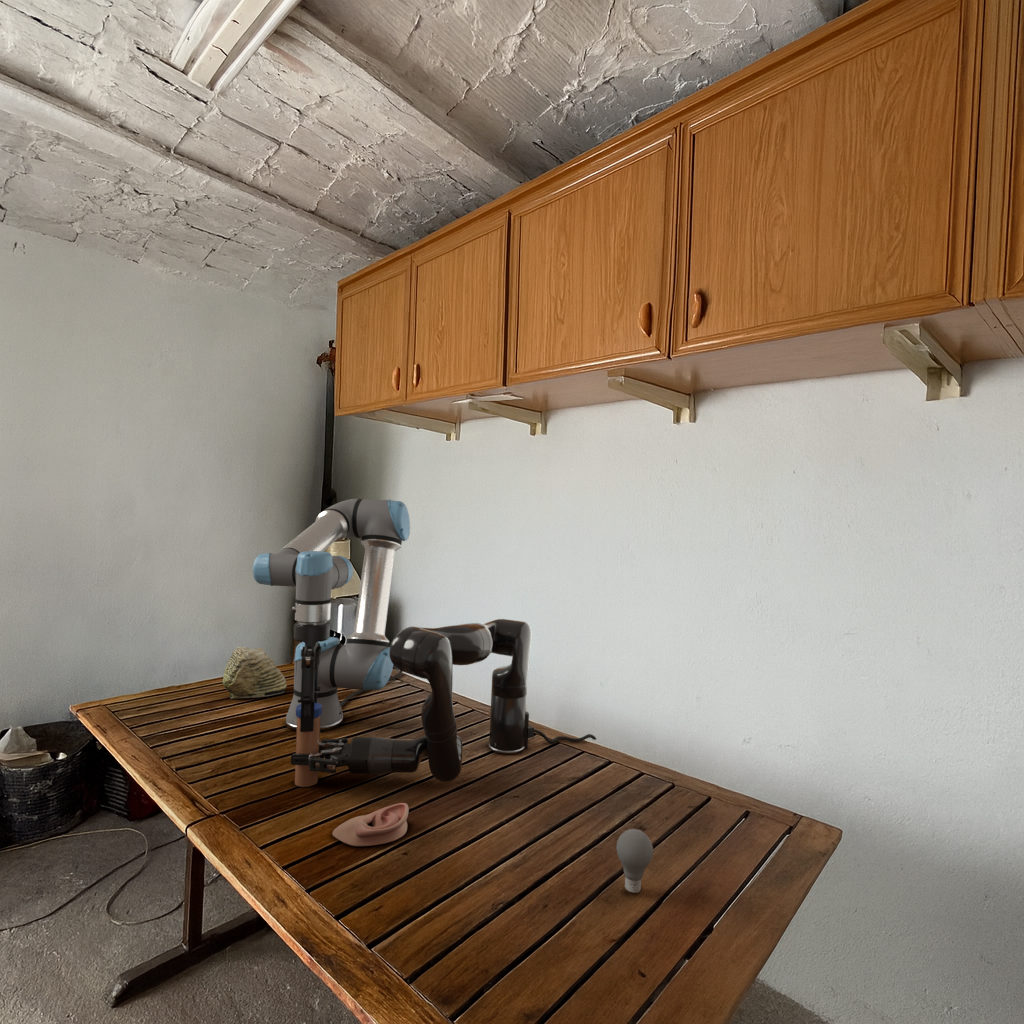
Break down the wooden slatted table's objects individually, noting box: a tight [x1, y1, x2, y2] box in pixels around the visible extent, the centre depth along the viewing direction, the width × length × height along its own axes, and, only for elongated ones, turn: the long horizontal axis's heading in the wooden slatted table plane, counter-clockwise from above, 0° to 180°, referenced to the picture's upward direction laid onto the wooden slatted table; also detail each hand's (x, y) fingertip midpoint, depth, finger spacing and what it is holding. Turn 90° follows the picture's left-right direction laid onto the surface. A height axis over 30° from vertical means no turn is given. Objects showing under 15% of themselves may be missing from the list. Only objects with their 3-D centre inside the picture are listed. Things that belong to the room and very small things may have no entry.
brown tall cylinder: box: [294, 716, 321, 788], centre depth 140 cm, size 5×5×16 cm
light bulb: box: [615, 828, 654, 894], centre depth 106 cm, size 6×6×10 cm
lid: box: [296, 703, 322, 718], centre depth 140 cm, size 6×6×2 cm
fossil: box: [222, 646, 288, 699], centre depth 198 cm, size 9×18×15 cm, turn 132°
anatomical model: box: [332, 802, 410, 847], centre depth 121 cm, size 13×4×12 cm
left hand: (308, 725), depth 140 cm, fingers closed on lid, 5 cm apart
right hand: (295, 754), depth 140 cm, fingers closed on brown tall cylinder, 5 cm apart
